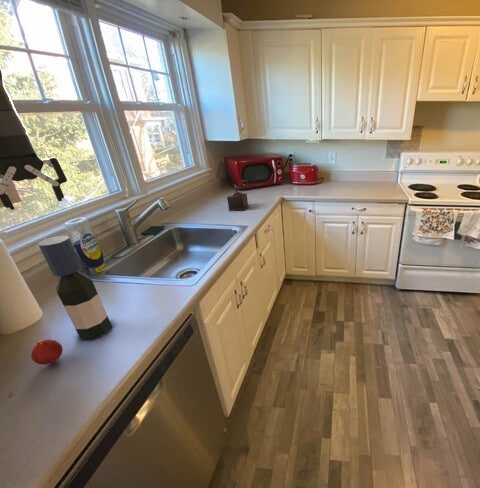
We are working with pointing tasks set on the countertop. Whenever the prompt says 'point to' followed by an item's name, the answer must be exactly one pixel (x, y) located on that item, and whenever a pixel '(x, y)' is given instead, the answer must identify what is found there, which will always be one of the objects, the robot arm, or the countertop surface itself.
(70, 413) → the countertop surface
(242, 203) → the manual coffee grinder
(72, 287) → the wine bottle
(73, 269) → the cup
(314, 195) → the countertop surface
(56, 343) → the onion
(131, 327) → the countertop surface
